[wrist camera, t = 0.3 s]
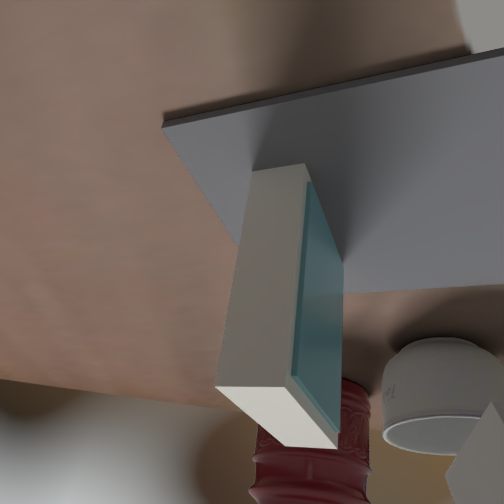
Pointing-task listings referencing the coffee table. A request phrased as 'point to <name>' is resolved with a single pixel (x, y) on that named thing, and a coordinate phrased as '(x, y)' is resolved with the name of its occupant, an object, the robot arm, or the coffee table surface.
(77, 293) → the coffee table surface
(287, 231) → the tile
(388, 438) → the teacup
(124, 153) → the coffee table surface
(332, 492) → the canister
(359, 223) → the mat
